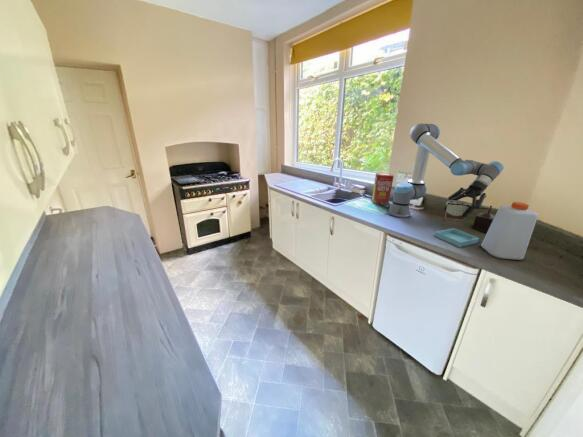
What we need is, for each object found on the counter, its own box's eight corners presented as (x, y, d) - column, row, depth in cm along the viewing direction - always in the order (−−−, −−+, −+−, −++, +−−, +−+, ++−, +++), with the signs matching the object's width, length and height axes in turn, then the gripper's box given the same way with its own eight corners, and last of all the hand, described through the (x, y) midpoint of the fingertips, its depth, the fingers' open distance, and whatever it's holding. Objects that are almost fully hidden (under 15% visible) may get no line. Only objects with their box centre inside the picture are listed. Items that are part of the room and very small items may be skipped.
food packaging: (372, 203, 204) (377, 174, 195) (371, 200, 213) (375, 172, 203) (388, 204, 202) (394, 175, 193) (386, 201, 211) (391, 173, 202)
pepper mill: (494, 229, 157) (504, 203, 150) (490, 233, 150) (500, 207, 143) (467, 222, 168) (475, 198, 161) (462, 226, 161) (470, 201, 154)
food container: (462, 217, 141) (468, 201, 137) (466, 220, 136) (472, 204, 132) (439, 214, 145) (444, 198, 141) (442, 217, 139) (447, 201, 135)
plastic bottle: (527, 262, 119) (551, 209, 108) (494, 258, 121) (514, 207, 110) (506, 247, 132) (526, 200, 122) (477, 245, 135) (494, 198, 124)
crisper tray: (434, 236, 144) (435, 231, 143) (452, 232, 151) (453, 228, 149) (459, 247, 132) (461, 242, 130) (477, 242, 138) (479, 238, 136)
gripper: (503, 193, 129) (476, 223, 129) (461, 184, 148) (438, 210, 148) (501, 185, 125) (473, 215, 125) (458, 176, 144) (434, 203, 144)
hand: (454, 212), depth 137 cm, fingers closed on food container, 10 cm apart
